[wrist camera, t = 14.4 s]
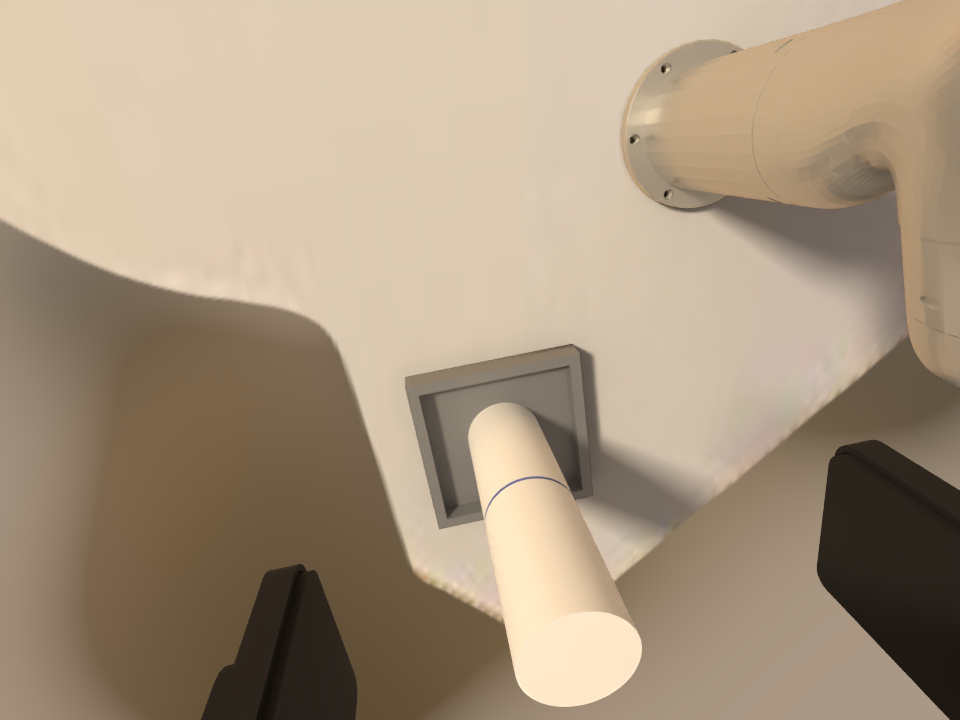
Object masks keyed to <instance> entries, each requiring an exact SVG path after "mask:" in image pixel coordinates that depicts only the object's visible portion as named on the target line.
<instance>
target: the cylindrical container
mask: <svg viewBox="0 0 960 720" xmlns="http://www.w3.org/2000/svg"><path fill="white" fill-rule="evenodd" d="M468 441H469V447H470V452H471V457H472V462H473V467H474V472H475V477H476V482H477V487H478V492H479V497H480V502H481V507H482V512H483V517H484V522H485V527H486V532H487V537H488V542H489V547H490V552H491V557H492V562H493V567H494V572H495V577H496V582H497V587H498V592H499V597H500V602H501V607H502V612H503V617H504V622H505V627H506V632H507V636H508V641H509V646H510V651H511V656H512V661H513V666H514V671H515V676H516V679H517V682H518V684H519V686H520V687H521V689H522V690H523V692H525V693H526V694H527V695H528V696H529V697H531V698H532V699H534V700H536V701H538V702H540V703H544V704H547V705H551V706H560V707H569V706H578V705H584V704H588V703H591V702H594V701H597V700H599V699H601V698H604V697H606V696H608V695H609V694H611V693H613V692H614V691H616V690H617V689H618V688H620V687H621V686H622V685H623V684H624V683H625V682H627V681H628V679H629V678H630V677H631V676H632V674H633V673H634V672H635V670H636V668H637V666H638V664H639V661H640V658H641V654H642V644H641V640H640V636H639V635H638V632H637V630H636V628H635V626H634V624H633V622H632V620H631V617H630V615H629V613H628V611H627V609H626V607H625V605H624V603H623V601H622V599H621V596H620V594H619V592H618V590H617V588H616V586H615V584H614V582H613V579H612V577H611V575H610V573H609V571H608V569H607V567H606V565H605V563H604V560H603V558H602V556H601V554H600V552H599V550H598V548H597V546H596V544H595V541H594V539H593V537H592V535H591V533H590V531H589V529H588V527H587V525H586V522H585V520H584V518H583V516H582V514H581V512H580V510H579V508H578V506H577V503H576V501H575V499H574V497H573V495H572V493H571V491H570V489H569V487H568V484H567V482H566V480H565V478H564V476H563V474H562V472H561V470H560V468H559V465H558V463H557V461H556V459H555V457H554V455H553V453H552V451H551V449H550V446H549V444H548V442H547V440H546V438H545V436H544V434H543V432H542V430H541V427H540V425H539V423H538V421H537V419H536V417H535V416H534V415H533V413H532V412H531V411H530V410H528V409H527V408H526V407H524V406H521V405H519V404H515V403H498V404H495V405H491V406H489V407H487V408H485V409H484V410H483V411H481V412H480V413H479V414H478V415H477V416H476V417H475V418H474V420H473V422H472V423H471V426H470V429H469V433H468Z"/></svg>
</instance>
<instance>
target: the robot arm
mask: <svg viewBox="0 0 960 720" xmlns="http://www.w3.org/2000/svg"><path fill="white" fill-rule="evenodd" d="M661 66H662V67H663V68H664V72H663V73H662V72H661ZM621 132H622V150H623V156H624V161H625V163H626V166H627V169H628V171H629V174H630V175H631V177H632V178H633V180H634V182H635V183H636V185H637V186H638V187H639V188H640V189H641V190H642V191H643V192H644V193H645V194H646V195H648V196H649V197H651V198H652V199H654V200H655V201H657V202H660V203H662V204H665V205H668V206H673V207H678V208H696V207H701V206H706V205H709V204H711V203H714V202H716V201H719V200H721V199H722V198H724V197H725V196H727V195H729V196H736V197H743V198H750V199H757V200H763V201H770V202H777V203H784V204H791V205H798V206H804V207H812V208H822V209H838V208H847V207H852V206H857V205H860V204H863V203H867V202H870V201H872V200H875V199H877V198H880V197H882V196H884V195H886V194H888V193H890V192H892V191H894V190H895V193H896V202H897V216H898V223H899V225H900V228H901V243H902V258H903V274H904V289H905V304H906V316H907V324H908V331H909V337H910V340H911V343H912V346H913V348H914V350H915V353H916V355H917V356H918V358H919V359H920V361H921V362H922V363H923V364H924V366H925V367H926V368H927V369H928V370H929V371H931V372H932V373H933V374H934V375H936V376H937V377H939V378H940V379H942V380H944V381H945V382H947V383H949V384H951V385H953V386H956V387H958V388H960V0H903V1H900V2H897V3H894V4H892V5H889V6H886V7H883V8H880V9H877V10H874V11H871V12H868V13H865V14H862V15H859V16H855V17H852V18H849V19H845V20H842V21H839V22H835V23H832V24H829V25H826V26H824V27H820V28H817V29H813V30H810V31H807V32H803V33H800V34H796V35H793V36H790V37H786V38H783V39H779V40H776V41H772V42H769V43H766V44H762V45H759V46H755V47H752V48H749V49H745V50H743V49H742V48H741V47H738V46H736V45H734V44H732V43H730V42H726V41H720V40H715V39H713V40H699V41H695V42H691V43H688V44H685V45H682V46H680V47H677V48H675V49H673V50H671V51H670V52H668V53H667V54H665V55H663V56H662V57H660V58H659V59H658V60H657V61H656V62H655V63H654V64H653V65H652V66H651V67H649V68H648V69H647V71H646V72H645V73H644V75H643V76H642V77H641V79H640V80H639V81H638V83H637V84H636V86H635V88H634V90H633V92H632V94H631V96H630V98H629V100H628V103H627V107H626V110H625V113H624V117H623V124H622V130H621ZM631 137H632V138H633V142H632V143H630V138H631ZM665 191H666V193H667V194H666V196H665V197H664V193H665ZM817 573H818V576H819V578H820V581H821V582H822V584H823V586H824V587H825V588H826V590H827V591H828V592H829V593H830V594H831V595H832V596H833V597H834V598H835V599H836V600H837V601H838V602H839V603H840V604H841V605H842V607H843V608H845V610H846V611H847V612H848V613H849V614H850V615H851V616H852V617H853V618H854V619H855V620H856V621H857V622H858V623H859V625H861V627H863V629H864V630H865V631H866V632H867V633H868V634H869V635H870V636H871V637H872V638H873V639H874V640H875V641H876V642H877V643H878V644H879V646H880V647H881V648H882V649H883V650H884V651H885V652H886V653H887V654H888V655H889V656H890V657H891V658H892V659H893V660H894V661H895V662H896V663H897V665H898V666H899V667H901V668H902V670H903V671H904V672H905V673H906V674H907V675H908V676H909V677H910V678H911V679H912V680H913V681H914V682H915V683H916V684H917V686H918V687H919V688H920V689H921V690H922V691H923V692H924V693H925V694H926V695H927V696H928V697H929V698H930V699H931V700H932V701H933V702H934V703H935V705H937V707H938V708H939V709H940V710H941V711H942V712H943V713H944V714H945V715H946V716H947V717H948V718H949V719H950V720H960V490H958V489H956V488H955V487H953V486H952V485H950V484H948V483H947V482H945V481H943V480H942V479H940V478H939V477H937V476H935V475H934V474H932V473H931V472H929V471H927V470H926V469H924V468H923V467H921V466H919V465H918V464H916V463H914V462H913V461H911V460H910V459H908V458H906V457H905V456H903V455H901V454H900V453H898V452H897V451H895V450H893V449H892V448H890V447H889V446H887V445H885V444H884V443H882V442H879V441H877V440H868V441H863V442H859V443H854V444H849V445H845V446H842V447H839V449H837V451H836V453H835V456H834V457H832V458H831V459H830V462H829V467H828V476H827V485H826V494H825V502H824V511H823V518H822V527H821V536H820V544H819V554H818V562H817ZM356 704H357V684H356V678H355V674H354V671H353V668H352V666H351V663H350V660H349V658H348V655H347V652H346V650H345V647H344V644H343V641H342V639H341V636H340V633H339V631H338V628H337V625H336V623H335V620H334V617H333V615H332V612H331V609H330V606H329V604H328V601H327V598H326V596H325V593H324V590H323V587H322V585H321V582H320V580H319V577H318V574H317V572H316V571H315V570H312V571H306V569H305V567H304V566H303V565H302V564H298V565H293V566H289V567H284V568H280V569H275V570H270V571H268V572H266V573H265V575H264V577H263V580H262V583H261V586H260V589H259V592H258V595H257V598H256V601H255V604H254V607H253V609H252V612H251V615H250V618H249V621H248V624H247V628H246V631H245V633H244V636H243V639H242V642H241V645H240V649H239V651H238V654H237V657H236V660H235V663H234V664H232V665H228V666H225V667H224V668H223V669H222V670H221V672H219V674H218V676H217V678H216V680H215V683H214V685H213V688H212V691H211V693H210V696H209V699H208V702H207V704H206V707H205V710H204V713H203V716H202V718H201V720H355V715H356Z"/></svg>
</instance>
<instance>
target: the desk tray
mask: <svg viewBox="0 0 960 720" xmlns="http://www.w3.org/2000/svg"><path fill="white" fill-rule="evenodd" d="M405 389H406V393H407V398H408V402H409V406H410V410H411V414H412V418H413V422H414V427H415V431H416V435H417V439H418V443H419V447H420V452H421V456H422V460H423V464H424V468H425V472H426V476H427V481H428V485H429V489H430V493H431V497H432V501H433V506H434V510H435V514H436V518H437V522H438V526H439V529H443V528H447V527H452V526H457V525H461V524H466V523H470V522H475V521H480V520H484V517H483V512H482V507H481V502H480V497H479V492H478V487H477V482H476V477H475V472H474V467H473V462H472V457H471V452H470V447H469V441H468V433H469V429H470V426H471V423H472V422H473V420H474V418H475V417H476V416H477V415H478V414H479V413H480V412H481V411H483V410H484V409H485V408H487V407H489V406H491V405H495V404H498V403H515V404H519V405H521V406H524V407H526V408H527V409H528V410H530V411H531V412H532V413H533V415H534V416H535V417H536V419H537V421H538V423H539V425H540V427H541V430H542V432H543V434H544V436H545V438H546V440H547V442H548V444H549V446H550V449H551V451H552V453H553V455H554V457H555V459H556V461H557V463H558V465H559V468H560V470H561V472H562V474H563V476H564V478H565V480H566V482H567V484H568V487H569V489H570V491H571V493H572V495H573V497H574V499H575V500H576V499H581V498H586V497H590V496H593V490H592V479H591V469H590V458H589V447H588V437H587V426H586V415H585V405H584V394H583V383H582V373H581V362H580V353H579V352H578V350H577V349H576V348H575V347H574V346H573V345H572V344H569V345H564V346H559V347H554V348H549V349H544V350H539V351H534V352H529V353H524V354H519V355H514V356H509V357H504V358H499V359H494V360H489V361H484V362H479V363H474V364H469V365H464V366H459V367H454V368H449V369H444V370H439V371H434V372H429V373H424V374H419V375H414V376H409V377H405Z"/></svg>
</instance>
